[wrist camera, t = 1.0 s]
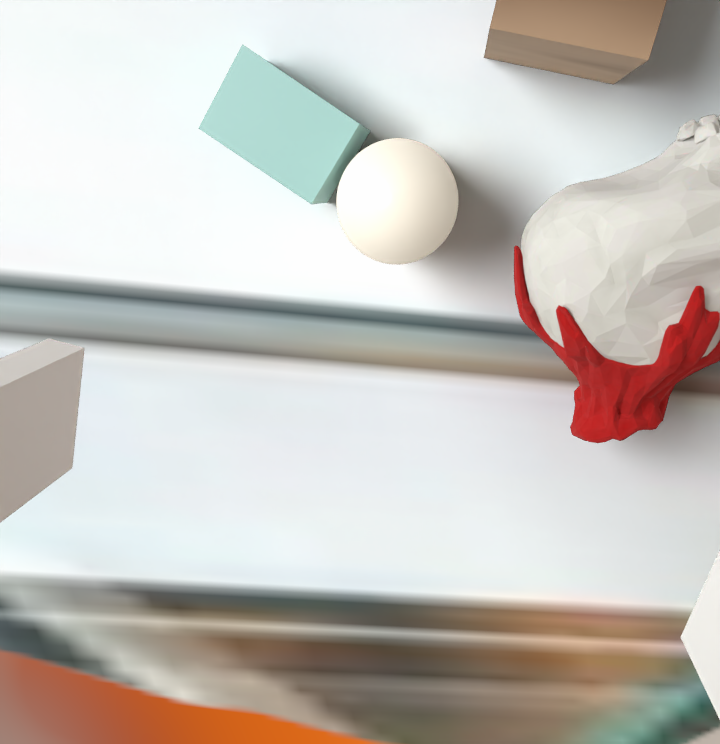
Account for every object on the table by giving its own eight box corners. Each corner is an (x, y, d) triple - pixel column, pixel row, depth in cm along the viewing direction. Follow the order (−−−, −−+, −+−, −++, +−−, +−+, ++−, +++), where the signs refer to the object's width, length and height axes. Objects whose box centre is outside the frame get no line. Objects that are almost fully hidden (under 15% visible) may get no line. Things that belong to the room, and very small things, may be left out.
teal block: (267, 61, 33) (242, 44, 29) (370, 131, 33) (359, 123, 29) (227, 135, 34) (198, 128, 30) (327, 202, 34) (311, 204, 30)
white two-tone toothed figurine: (783, 96, 30) (712, 408, 35) (519, 93, 31) (492, 394, 37) (909, 96, 21) (790, 503, 27) (542, 93, 23) (502, 481, 28)
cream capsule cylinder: (368, 137, 33) (350, 126, 27) (469, 159, 33) (472, 152, 27) (347, 239, 34) (325, 249, 29) (444, 262, 34) (441, 276, 28)
